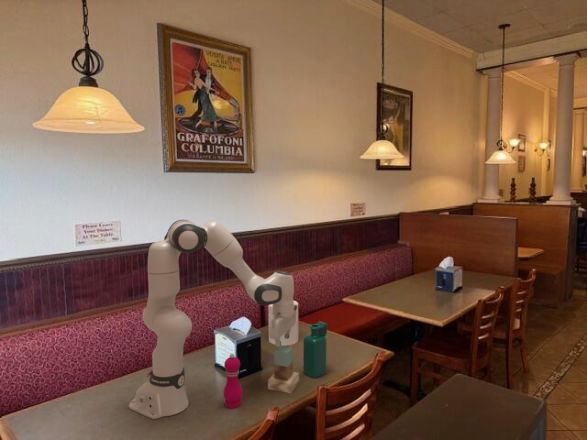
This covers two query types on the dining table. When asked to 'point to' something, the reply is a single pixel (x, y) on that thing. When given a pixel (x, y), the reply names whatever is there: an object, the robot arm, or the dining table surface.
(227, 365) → the pepper mill
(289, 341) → the canister
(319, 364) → the green water bottle
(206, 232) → the robot arm
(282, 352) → the teal block
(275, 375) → the walnut block
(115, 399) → the dining table surface
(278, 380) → the maple base
